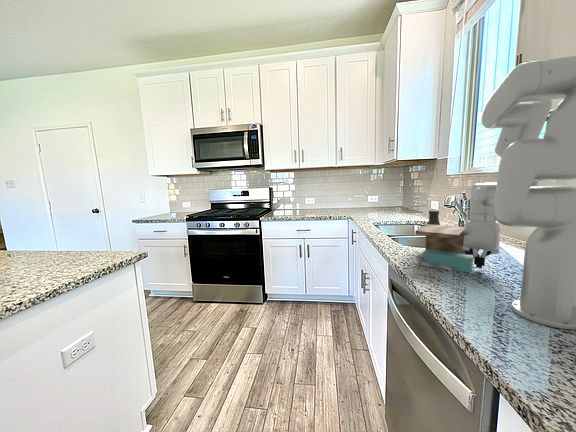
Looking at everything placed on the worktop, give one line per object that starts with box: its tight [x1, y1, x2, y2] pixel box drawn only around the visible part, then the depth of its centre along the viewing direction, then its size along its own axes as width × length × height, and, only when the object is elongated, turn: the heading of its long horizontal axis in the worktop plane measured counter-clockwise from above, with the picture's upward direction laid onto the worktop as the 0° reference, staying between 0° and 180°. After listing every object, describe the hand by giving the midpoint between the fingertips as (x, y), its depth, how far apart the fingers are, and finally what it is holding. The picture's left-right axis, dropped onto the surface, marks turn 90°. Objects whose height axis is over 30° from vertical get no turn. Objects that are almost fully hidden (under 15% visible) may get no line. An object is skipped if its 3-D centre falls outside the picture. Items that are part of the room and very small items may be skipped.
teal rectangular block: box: [422, 249, 474, 273], centre depth 99 cm, size 16×6×5 cm, turn 48°
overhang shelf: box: [414, 223, 466, 271], centre depth 101 cm, size 14×19×14 cm
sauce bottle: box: [424, 209, 441, 250], centre depth 116 cm, size 6×6×20 cm
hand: (479, 267), depth 93 cm, fingers closed
